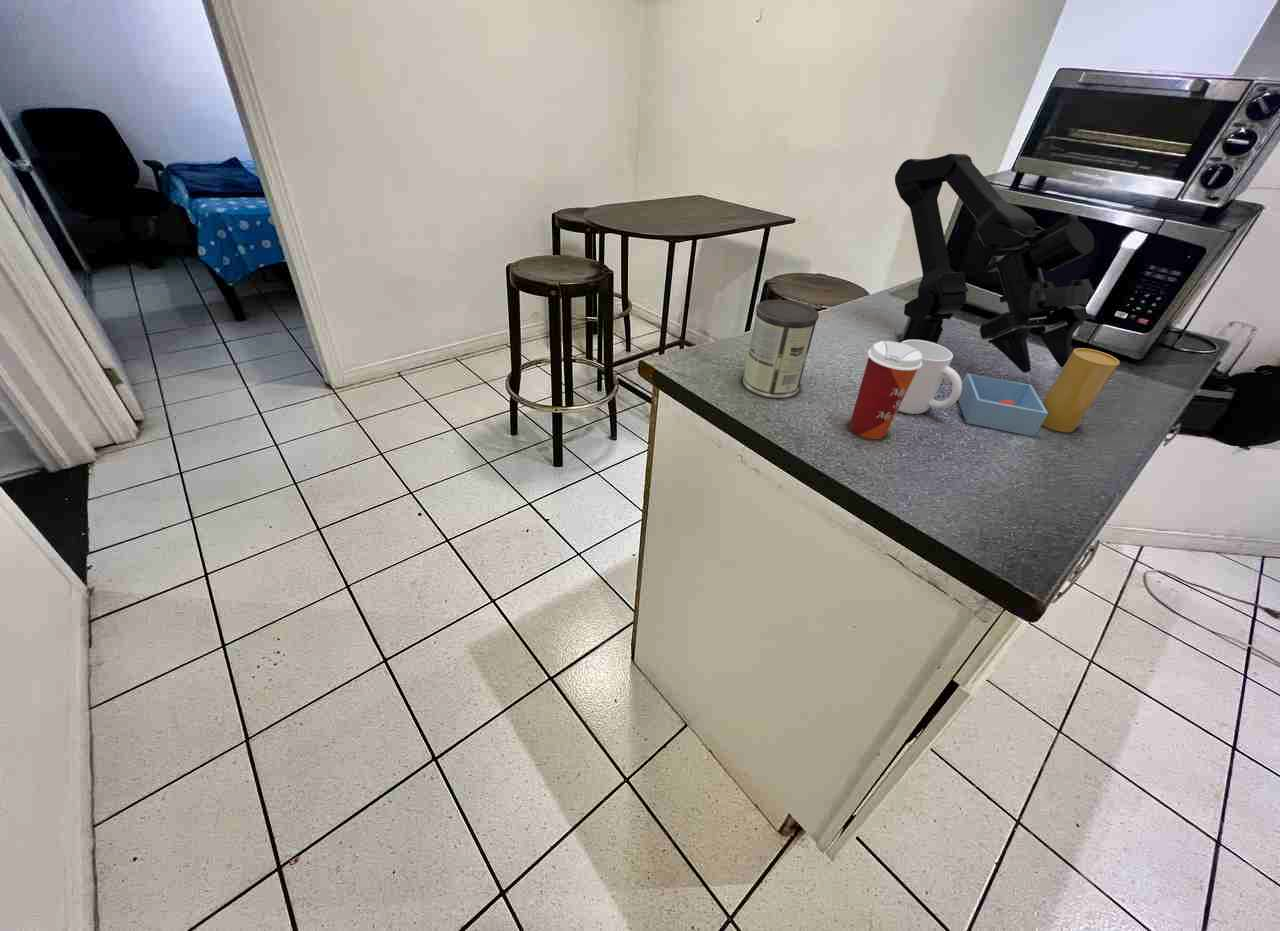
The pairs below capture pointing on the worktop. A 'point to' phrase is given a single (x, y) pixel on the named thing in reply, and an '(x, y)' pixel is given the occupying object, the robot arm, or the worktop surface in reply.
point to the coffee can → (779, 347)
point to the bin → (1001, 405)
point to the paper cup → (883, 387)
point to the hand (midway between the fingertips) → (1046, 369)
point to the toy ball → (1007, 402)
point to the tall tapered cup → (1077, 388)
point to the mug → (930, 379)
